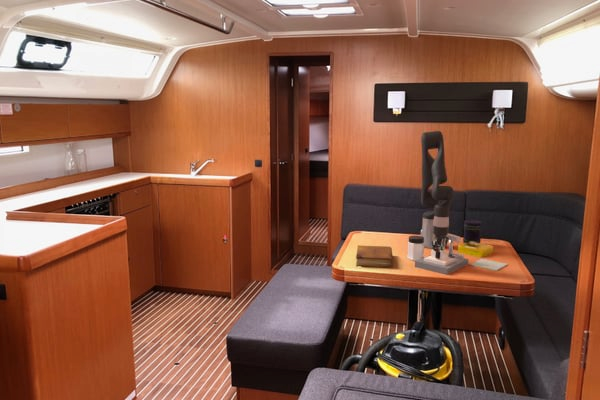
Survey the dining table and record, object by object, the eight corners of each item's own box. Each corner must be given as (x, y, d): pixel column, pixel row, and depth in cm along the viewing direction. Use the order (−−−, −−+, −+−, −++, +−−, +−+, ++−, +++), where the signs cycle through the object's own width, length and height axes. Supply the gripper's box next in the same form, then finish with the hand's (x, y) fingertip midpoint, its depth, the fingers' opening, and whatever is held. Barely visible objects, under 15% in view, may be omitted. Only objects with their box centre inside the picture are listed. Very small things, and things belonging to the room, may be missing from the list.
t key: (461, 260, 247) (462, 239, 246) (442, 253, 260) (443, 233, 258) (464, 259, 249) (465, 238, 247) (445, 252, 261) (446, 232, 259)
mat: (469, 265, 251) (469, 264, 251) (481, 259, 261) (481, 258, 261) (496, 271, 241) (496, 269, 241) (507, 265, 251) (507, 263, 251)
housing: (414, 266, 248) (415, 260, 248) (436, 257, 265) (437, 251, 264) (447, 274, 236) (447, 268, 235) (468, 264, 252) (468, 258, 252)
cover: (423, 261, 248) (424, 250, 247) (433, 257, 255) (433, 246, 254) (445, 265, 240) (445, 255, 239) (454, 261, 247) (455, 251, 246)
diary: (392, 269, 247) (393, 258, 246) (356, 267, 249) (356, 256, 248) (391, 256, 269) (391, 246, 268) (357, 254, 272) (357, 245, 271)
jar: (421, 256, 267) (422, 235, 265) (425, 260, 259) (426, 239, 257) (405, 256, 267) (406, 235, 265) (408, 260, 259) (409, 239, 257)
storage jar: (483, 246, 288) (485, 221, 286) (473, 248, 283) (474, 223, 280) (469, 242, 296) (471, 218, 294) (459, 245, 291) (460, 220, 288)
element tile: (456, 252, 276) (456, 244, 275) (469, 248, 286) (470, 240, 285) (480, 258, 265) (481, 249, 264) (493, 253, 275) (494, 245, 274)
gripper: (440, 228, 237) (439, 262, 240) (454, 223, 247) (452, 256, 250) (427, 226, 242) (425, 259, 245) (441, 221, 252) (439, 253, 255)
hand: (439, 257), depth 247 cm, fingers closed on cover, 3 cm apart
